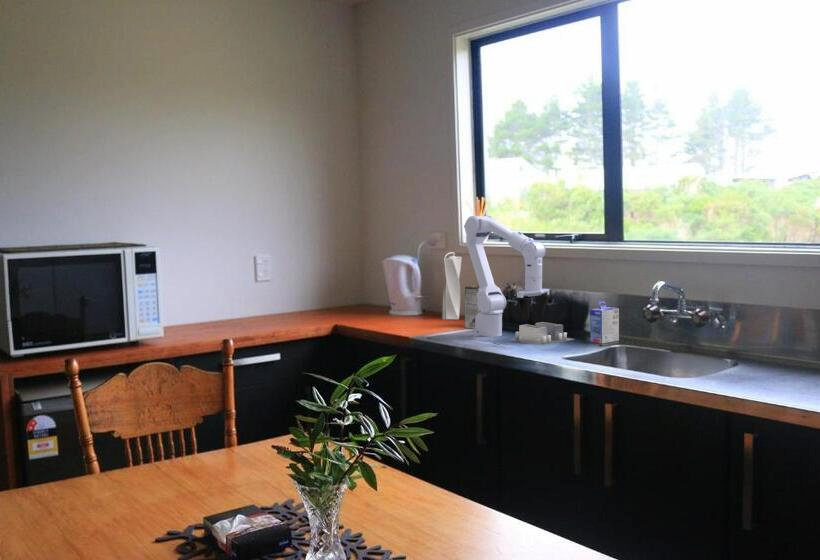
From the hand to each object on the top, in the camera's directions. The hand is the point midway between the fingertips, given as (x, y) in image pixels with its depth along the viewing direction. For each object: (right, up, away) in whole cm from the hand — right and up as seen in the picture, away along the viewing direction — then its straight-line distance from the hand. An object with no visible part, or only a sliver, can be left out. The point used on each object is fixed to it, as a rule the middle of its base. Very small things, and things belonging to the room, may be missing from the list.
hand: (533, 317), depth 271 cm
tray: (+3, -9, +4) cm, 10 cm away
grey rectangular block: (0, -8, +1) cm, 8 cm away
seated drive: (+6, -8, +6) cm, 12 cm away
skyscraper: (-24, -4, +63) cm, 67 cm away
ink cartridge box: (+24, -9, +1) cm, 26 cm away
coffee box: (-16, -6, +39) cm, 42 cm away
